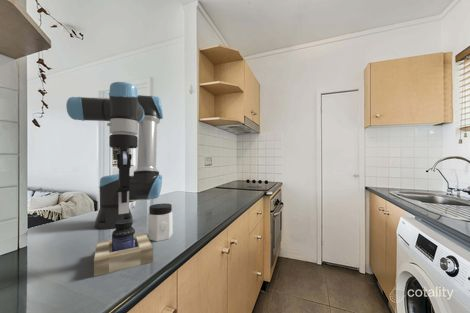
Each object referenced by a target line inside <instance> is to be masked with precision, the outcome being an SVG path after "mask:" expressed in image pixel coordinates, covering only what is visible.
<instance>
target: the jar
mask: <svg viewBox="0 0 470 313" xmlns="http://www.w3.org/2000/svg"><path fill="white" fill-rule="evenodd" d="M172 206H173V205H172V204H171V203H155V204H152V205H151V204H150V205H149V209H148V210H149V211H148V212H149V213H148V215H147V216H148V221H147V222H148V227H147V228H148V230H147V231H148V232H147V234H148V235H147V237H148V239H149V241H155V242H160V241H164V240H169V239H170V238H171V237H172V236H173V232H174V231H173V229H174V228H173V226H174V224H173V210H172V209H173V207H172Z"/></svg>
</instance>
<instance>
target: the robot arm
mask: <svg viewBox="0 0 470 313" xmlns="http://www.w3.org/2000/svg"><path fill="white" fill-rule="evenodd" d="M108 92H109V93H108V95H109V96H108V97H83V96H71V97H69V98H67V100H66V106H65V107H66V113H67V115H68V117H69V118H70V119H72V120H75V121H94V122H96V121H97V122H98V121H99V122H101V121H103V122H107V124H106V126H107V127H109V133H110V135H109V137H108V138H109V141H108V142H109V147H110V148H111V149H119V153H116V154H115V156H116V157H115V159H116V162H117V164H116V165H117V166H116V167H117V169H118V174H117V173H116V174H111V175H105V176H104V175H103V176H102V177H101V178H100V179H99V186H98V188H99V210H98V213H97V216H96V218H95V220H94V228H96V229H99V230H108V229H110V230H111V229H116V228H115V222H117V221H120V220H127V219H130V220H132V222H133V215H132V211H131V209H130V201H143V200H148V201H149V200H154V199H155V200H156V199H158V198H159V197H160V194H161V191H162V184H163V175H161V174H160V171H159V170H158V169H157V142H158V141H157V138H158V137H157V133H158V132H157V130H158V129H157V128H158V124H160V122H161V120H163V119H164V117H163V116H164V114H163V108H162V101H161V100H162V99H161V98H160V97H159V96H154V95H142V94H141V95H140V94H139V93H138V88H137V86H135V85H134V84H132V83H130V82H126V81H113V82H112V83H111V84H110V85H109V91H108ZM138 94H139V95H138ZM137 135H138V136H137ZM129 149H137V164H136V169H135V170H134V171H133V175H130V173H131V172H130V170H131V166H132V164H131V163H132V162H131V161H132V158H133V157H132V155H133V154H132V153H130V150H129Z"/></svg>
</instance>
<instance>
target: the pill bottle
mask: <svg viewBox="0 0 470 313" xmlns="http://www.w3.org/2000/svg"><path fill="white" fill-rule="evenodd" d="M114 229H115V230H113V231H112V232H111V240H112V252H115V251H120V250H125V249H130V248H134V247H135V235H136V229H135V228H134V227H133V221H132V220H130V219H127V220H120V221H117V222H115V228H114Z"/></svg>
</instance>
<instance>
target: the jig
mask: <svg viewBox="0 0 470 313" xmlns="http://www.w3.org/2000/svg"><path fill="white" fill-rule="evenodd" d="M95 247H96V248H95V251H94V252H95V253H94V258H93V277H94V278H95V277H99V276H104V275H106V274H110V273H115V272H118V271H122V270H125V269H130V268H134V267H138V266H142V265H146V264H149V263H153V262H154V255H153V254H154V248H153V245H152V243H151V240H149V239H148V235H147V233H140V234H135V247H134V248H130V249H125V250H120V251H115V252H112V239H107V240H101V241H97V242H96V246H95Z"/></svg>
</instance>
